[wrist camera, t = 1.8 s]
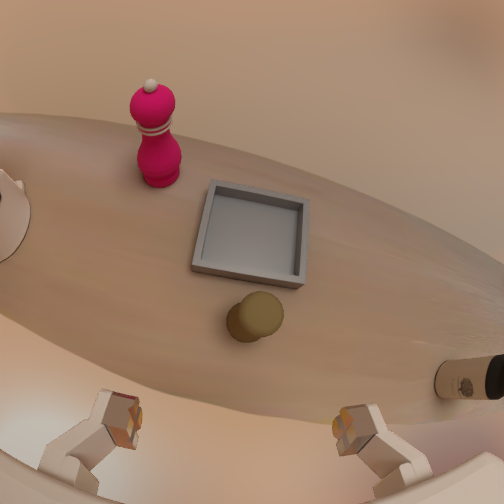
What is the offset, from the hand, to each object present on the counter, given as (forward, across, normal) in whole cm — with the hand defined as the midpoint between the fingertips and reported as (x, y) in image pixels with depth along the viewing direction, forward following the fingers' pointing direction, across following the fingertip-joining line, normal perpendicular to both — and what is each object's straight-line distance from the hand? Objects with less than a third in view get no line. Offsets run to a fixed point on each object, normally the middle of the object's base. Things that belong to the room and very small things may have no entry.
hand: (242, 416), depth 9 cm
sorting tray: (+35, -3, +6) cm, 35 cm away
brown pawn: (+26, -3, +15) cm, 30 cm away
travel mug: (+19, -45, +25) cm, 55 cm away
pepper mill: (+42, +13, -2) cm, 44 cm away
